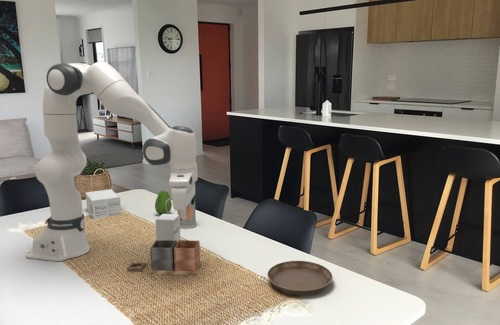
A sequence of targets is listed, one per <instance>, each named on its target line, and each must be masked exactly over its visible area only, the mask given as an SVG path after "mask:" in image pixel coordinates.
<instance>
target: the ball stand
mask: <svg viewBox="0 0 500 325" xmlns="http://www.w3.org/2000/svg"><path fill="white" fill-rule="evenodd" d="M146 266H147V262H139V261H138V262H135V261H134V262H131V263H129V265H128V266H127V268H126V272H132V273H133V272H134V273H135V272H139V273H140V272H143V271H144V269H145V268H146Z"/></svg>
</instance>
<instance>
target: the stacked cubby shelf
mask: <svg viewBox="0 0 500 325" xmlns="http://www.w3.org/2000/svg"><path fill="white" fill-rule="evenodd" d="M200 244H201V243H200V240H189V239H188V240H183V239H182V240H181V239H180V240H178V242H177V240H155V241H154V242H153V243H152V244H151V245H152V246H150V248H149V249H150V265H151V266H150V267H151V269H150V271H149V275H170V276H171V275H172V276H173V275H175V276H177V275H178V276H179V275H181V276H183V275H184V276H197V275H198V274H199V271H200V269H201V266H202V260H201V251H200V250H201V249H200V248H201V247H200V246H201V245H200Z"/></svg>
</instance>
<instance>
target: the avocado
mask: <svg viewBox="0 0 500 325" xmlns="http://www.w3.org/2000/svg"><path fill="white" fill-rule="evenodd" d="M168 199H170V200H168ZM171 199H172V198H171V197H170V194H169V192H167V191H165V190H160V191H159V193H158V194H157V197H156V199H155V203H154V210H155V212H156V213H157V214H158V215H159V216H161V215H162V214H168V213H169V214H170V212H171V210H172V207H173V202H172V200H171ZM167 200H168V201H167ZM166 201H167V203H166V207H167V211H168V213H167V211H166V208H165V202H166Z"/></svg>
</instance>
